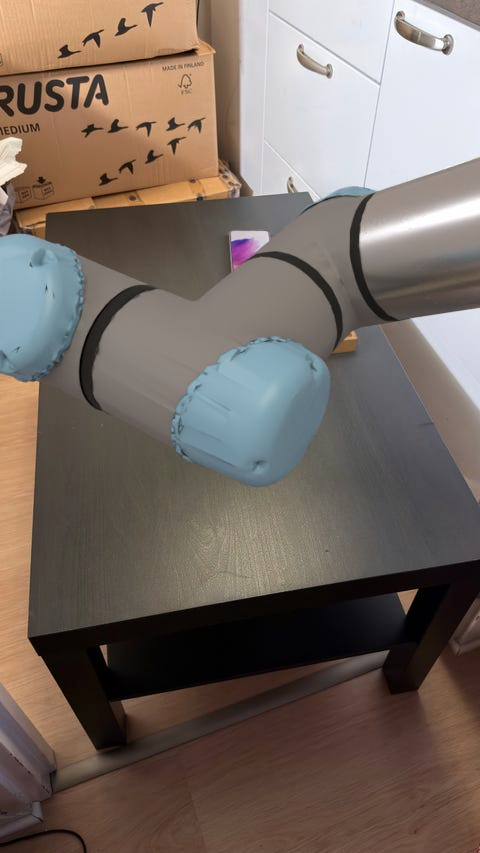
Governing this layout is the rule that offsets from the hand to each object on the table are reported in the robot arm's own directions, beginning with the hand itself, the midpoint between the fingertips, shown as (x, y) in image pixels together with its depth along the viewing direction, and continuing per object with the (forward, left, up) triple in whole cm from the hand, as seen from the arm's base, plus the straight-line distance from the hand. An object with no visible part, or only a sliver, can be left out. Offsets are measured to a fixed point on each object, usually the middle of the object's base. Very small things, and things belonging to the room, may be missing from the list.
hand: (269, 384), depth 66 cm
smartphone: (+34, -27, -13) cm, 45 cm away
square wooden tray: (+15, -21, -13) cm, 29 cm away
